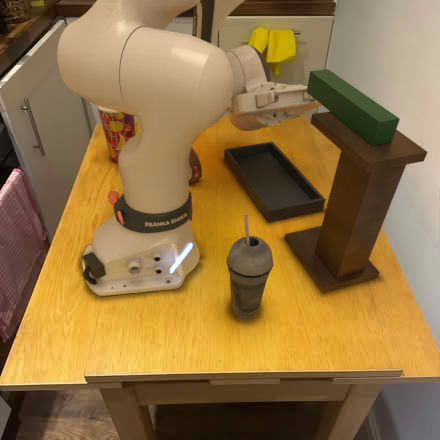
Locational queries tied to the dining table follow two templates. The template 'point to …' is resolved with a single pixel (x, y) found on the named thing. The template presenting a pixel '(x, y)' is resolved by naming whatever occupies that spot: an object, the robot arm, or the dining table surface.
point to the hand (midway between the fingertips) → (297, 93)
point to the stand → (352, 205)
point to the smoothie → (116, 129)
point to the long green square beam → (352, 107)
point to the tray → (273, 181)
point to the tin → (194, 167)
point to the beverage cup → (248, 273)
